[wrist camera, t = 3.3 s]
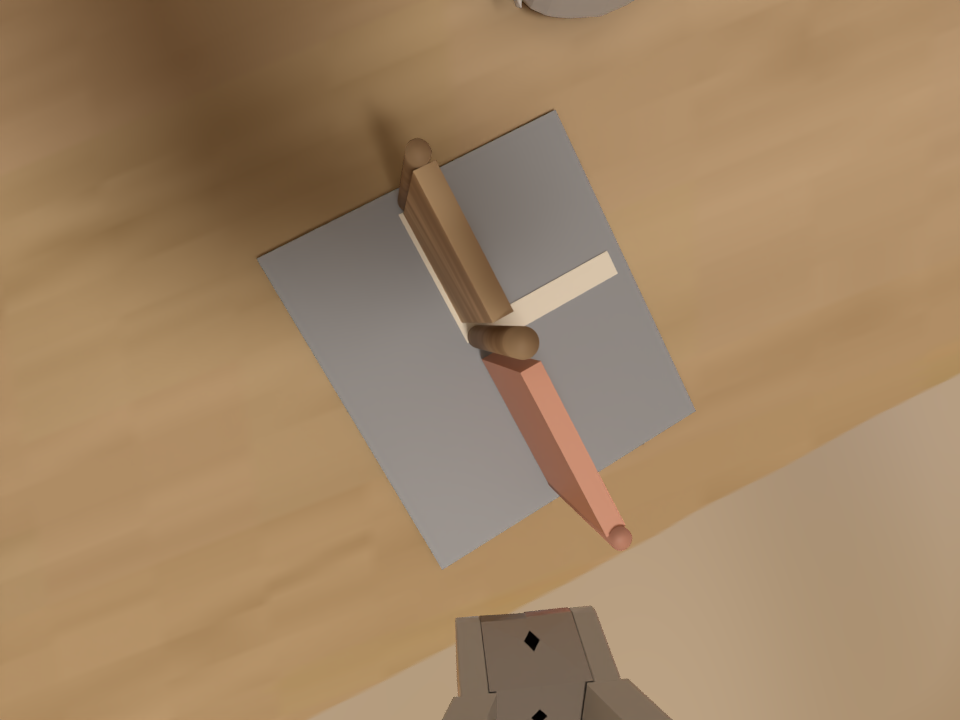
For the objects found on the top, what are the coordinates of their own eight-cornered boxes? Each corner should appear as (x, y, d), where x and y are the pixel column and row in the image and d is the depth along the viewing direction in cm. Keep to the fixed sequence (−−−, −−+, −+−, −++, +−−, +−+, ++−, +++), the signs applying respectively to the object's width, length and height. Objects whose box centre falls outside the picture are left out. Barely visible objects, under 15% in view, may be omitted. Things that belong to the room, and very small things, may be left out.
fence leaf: (552, 491, 36) (616, 554, 26) (480, 358, 34) (521, 373, 24) (566, 483, 36) (635, 542, 26) (495, 350, 34) (542, 361, 25)
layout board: (441, 567, 35) (442, 570, 35) (257, 259, 31) (256, 258, 31) (693, 410, 38) (696, 411, 38) (553, 111, 34) (555, 109, 34)
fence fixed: (473, 352, 34) (516, 366, 24) (391, 199, 33) (397, 139, 22) (493, 341, 35) (545, 349, 24) (412, 189, 33) (429, 123, 22)
